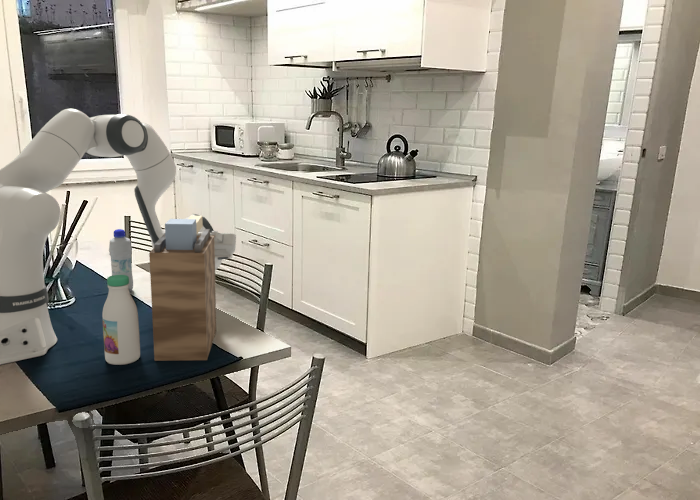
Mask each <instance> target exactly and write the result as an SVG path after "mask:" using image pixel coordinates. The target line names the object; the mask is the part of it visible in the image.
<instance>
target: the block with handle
mask: <svg viewBox="0 0 700 500" xmlns="http://www.w3.org/2000/svg"><path fill="white" fill-rule="evenodd" d="M189 216H190V217H189ZM189 216H188V217H189V218H188V219H185V218H169V219H168V220H167V221H166V222H165V224H164V229H165V239H166V250H193V249H194V245H195V243H196V242H197V234H198V232H199V231H200V230H201V228H202V227H203V223H202V216H203V215H200V216H191V215H189Z"/></svg>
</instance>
